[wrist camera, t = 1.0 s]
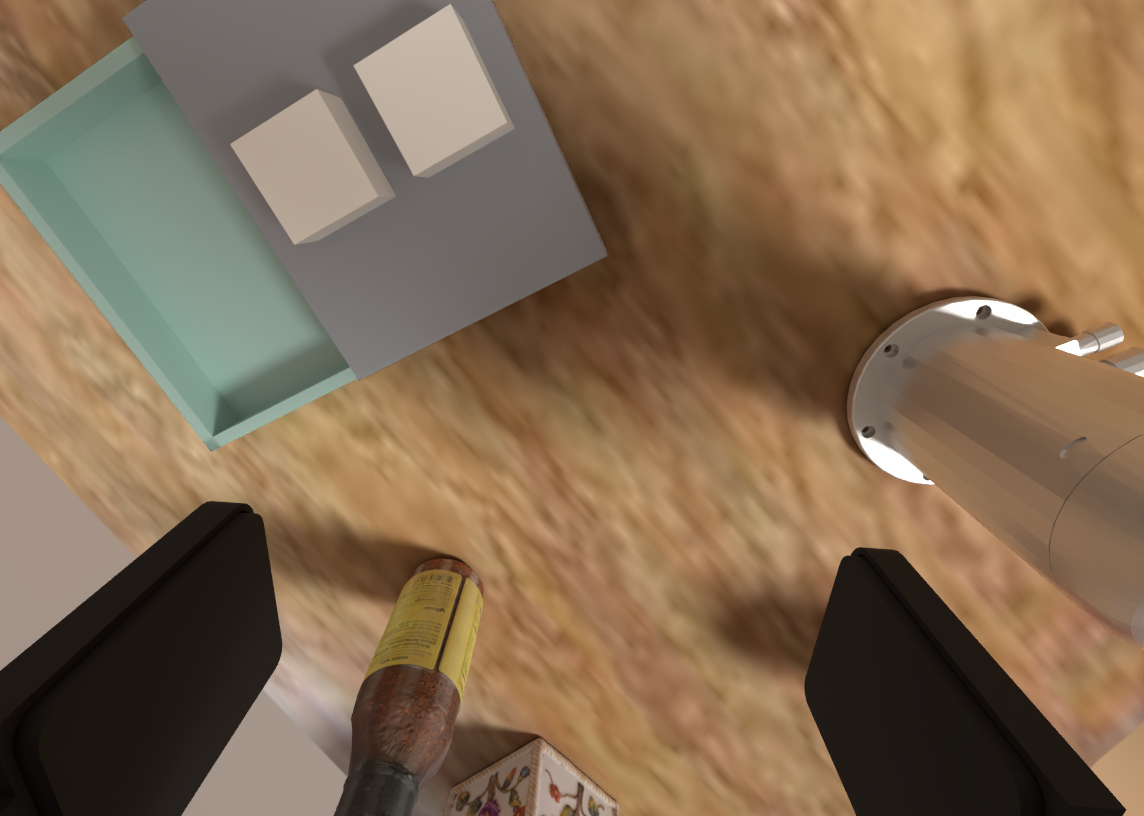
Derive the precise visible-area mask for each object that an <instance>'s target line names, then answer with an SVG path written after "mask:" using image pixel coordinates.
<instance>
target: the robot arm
mask: <svg viewBox="0 0 1144 816" xmlns="http://www.w3.org/2000/svg"><path fill="white" fill-rule="evenodd" d="M1123 338H1124V335H1123V332H1122V330H1121V329H1120V328H1119V327H1118V326H1117V325H1116V324H1114V323H1112V322H1106V323H1104V324H1101V325H1099V326H1096V327H1094V328H1091V329H1089V330H1086V331H1083V332H1082V333H1081V334H1079V335H1077V336H1074V337H1071V338H1069V337H1066V336H1059V335H1056V334H1053V333H1050V332H1049V331H1048V330H1047V328H1046V327H1045V325H1044V324H1043V323H1042V322H1041V321H1040V320H1039V319H1037V318H1036V317H1035V316H1034V315H1032V314H1031V313H1030V312H1029V311H1027V310H1025V309H1023V308H1021V307H1018V306H1016V305H1014V304H1012V303H1009V302H1005V301H1001V300H998V299H994V298H987V297H978V296H966V297H953V298H949V299H945V300H941V301H937V302H933V303H930V304H928V305H926V306H923V307H921V308H919V309H916V310H914V311H912V312H910V313H909V314H907V315H906V316H904V317H902V318H901V319H899V320H898V321H896V322H894V323H893V324H892V325H891V326H890V327H889V328H888V329H886V330H885V331H884V332H883V333H882V334H881V335H880V336H878V338H877V339H876V340H875V341H874V342H873V344H872V345H871V346H870V347H869V348H868V350H867V351H866V352H865V354H864V356H863V357H862V359H861V361H860V362H859V364H858V366H857V368H856V369H855V372H854V375H853V378H852V380H851V383H850V386H849V392H848V398H847V419H848V423H849V427H850V430H851V434H852V436H853V438H854V440H855V442H856V443H857V445H858V447H859V449H860V450H861V451H862V452H863V453H864V454H865V455H866V456H867V457H868V458H869V460H871V461H872V462H873V463H874V464H875V465H876V466H877V467H879V468H880V469H881V470H882V471H884V472H886V473H888V474H890V475H892V476H893V477H895V478H898V479H901V480H905V481H908V482H911V483H917V484H924V485H936V486H938V487H939V488H940V489H941V490H942V491H943V492H945V493H946V494H947V495H948V496H949V497H950V498H952V499H953V500H954V501H955V502H956V503H957V504H959V505H960V506H961V507H962V508H963V509H964V510H966V511H967V512H968V513H969V514H970V515H971V516H973V517H974V518H975V519H976V520H977V521H978V522H980V523H981V524H982V525H983V526H984V527H985V528H987V529H988V530H989V531H990V532H991V533H992V534H994V535H995V536H996V537H997V538H998V539H999V540H1001V541H1002V542H1003V543H1004V544H1005V545H1006V546H1008V547H1009V548H1010V549H1011V550H1012V551H1013V552H1015V553H1016V554H1017V555H1018V556H1019V557H1020V558H1022V559H1023V560H1024V561H1025V562H1026V563H1027V564H1029V565H1030V566H1031V567H1032V568H1033V569H1034V570H1036V571H1037V572H1038V573H1039V574H1040V575H1042V576H1043V577H1044V578H1045V579H1046V580H1047V581H1049V582H1050V583H1051V584H1052V585H1053V586H1054V587H1056V588H1057V589H1058V590H1059V591H1060V592H1061V593H1063V594H1064V595H1065V596H1066V597H1067V598H1068V599H1070V600H1071V601H1072V602H1074V603H1075V604H1076V605H1077V606H1078V607H1080V608H1081V609H1082V610H1083V611H1084V612H1085V613H1087V614H1088V615H1089V616H1090V617H1091V618H1093V619H1094V620H1095V621H1096V622H1098V623H1099V624H1100V625H1102V626H1103V627H1104V628H1106V629H1107V630H1108V631H1110V632H1111V633H1113V634H1114V635H1116V636H1118V637H1119V638H1121V639H1123V640H1124V641H1126V642H1128V643H1129V644H1131V645H1133V646H1135V647H1137V648H1139V649H1141V650H1144V350H1143V349H1141V348H1130V349H1128V350H1125V351H1122V352H1120V353H1117V354H1115V355H1112V356H1109V357H1107V358H1104V359H1102V360H1100V361H1098V362H1097V361H1094V360H1091V359H1088V358H1085V357H1083V356H1086V355H1088V354H1091V353H1097V352H1099V351H1102V350H1105V349H1107V348H1110V347H1112V346H1115V345H1117V344H1120V343H1121V342H1122V341H1123ZM887 346H888V348H887V349H886V350H885V348H886V347H887ZM863 428H864V429H863ZM281 653H282V638H281V631H280V625H279V619H278V612H277V606H276V599H275V593H274V587H273V580H272V574H271V567H270V561H269V554H268V548H267V542H266V535H265V529H264V523H263V519H262V517H261V516H260V515H259V514H254V512H253V509H252V508H251V507H250V505H248V504H244V503H230V502H216V501H210V502H206V503H204V504H202V505H201V506H200V507H198V508H197V509H196V510H195V511H194V512H192V513H191V514H190V515H189V516H188V517H186V518H185V519H184V520H183V521H181V522H180V523H179V524H178V525H177V526H175V527H174V528H173V529H172V530H171V531H169V532H168V533H167V534H166V535H165V536H163V537H162V538H161V539H160V540H158V541H157V542H156V543H155V544H154V545H152V546H151V547H150V548H149V549H148V550H146V551H145V552H144V553H143V554H141V555H140V556H139V557H138V558H137V559H135V560H134V561H133V562H132V563H131V564H129V565H128V566H127V567H126V568H124V569H123V570H122V571H121V572H120V573H118V574H117V575H116V576H115V577H114V578H112V579H111V580H110V581H109V582H108V583H106V584H105V585H104V586H103V587H101V588H100V589H99V590H98V591H97V592H95V593H94V594H93V595H92V596H91V597H89V598H88V599H87V600H86V601H85V602H83V603H82V604H81V605H80V606H78V607H77V608H76V609H75V610H74V611H72V612H71V613H70V614H69V615H67V616H66V617H65V618H64V619H63V620H61V621H60V622H59V623H58V624H57V625H55V626H54V627H53V628H52V629H51V630H49V631H48V632H47V633H46V634H44V635H43V636H42V637H41V638H40V639H39V640H37V641H36V642H35V643H34V644H32V645H31V646H30V647H29V648H27V649H26V650H25V651H24V652H23V653H21V654H20V655H19V656H18V657H17V658H15V659H14V660H13V661H12V662H10V663H9V664H8V665H7V666H6V667H4V668H3V669H2V670H1V671H0V816H181V815H182V813H183V812H184V810H185V808H186V807H187V806H188V804H189V802H190V801H191V799H192V798H193V796H194V795H195V793H196V792H197V790H198V788H199V787H200V785H201V784H202V782H203V781H204V779H205V777H206V776H207V774H208V773H209V771H210V770H211V768H212V766H213V765H214V763H215V762H216V760H217V759H218V757H219V756H220V754H221V753H222V751H223V750H224V748H225V746H226V745H227V743H228V742H229V740H230V738H231V737H232V736H233V734H234V732H235V731H236V729H237V728H238V726H239V725H240V723H241V721H242V720H243V718H244V717H245V715H246V714H247V712H248V710H249V709H250V708H251V706H252V704H253V703H254V701H255V700H256V698H257V697H258V695H259V693H260V692H261V690H262V689H263V687H264V686H265V684H266V683H267V681H268V680H269V678H270V676H271V675H272V673H273V672H274V670H275V669H276V667H277V665H278V662H279V660H280V657H281ZM805 696H806V701H807V704H808V706H809V709H810V711H811V713H812V715H813V718H814V720H815V722H816V724H817V727H818V729H819V731H820V734H821V736H822V738H823V740H824V743H825V745H826V747H827V750H828V752H829V754H830V756H831V759H832V761H833V763H834V765H835V768H836V770H837V772H838V775H839V777H840V779H841V781H842V784H843V786H844V788H845V791H846V793H847V795H848V797H849V800H850V802H851V804H852V807H853V809H854V811H855V813H856V816H1123V814H1124V813H1125V811H1126V809H1125V808H1124V807H1123V806H1122V804H1121V803H1120V802H1119V801H1118V800H1117V799H1116V797H1115V796H1114V795H1113V794H1112V793H1111V792H1110V791H1109V789H1108V788H1107V787H1106V786H1105V785H1104V784H1103V783H1102V782H1101V781H1100V779H1099V778H1098V777H1097V776H1096V775H1095V774H1094V773H1093V771H1092V770H1091V769H1090V768H1089V767H1088V766H1087V764H1086V763H1085V762H1084V761H1083V760H1082V759H1081V758H1080V756H1079V755H1078V754H1077V753H1076V752H1075V751H1074V750H1073V749H1072V747H1071V746H1070V745H1069V744H1068V743H1067V742H1066V741H1065V739H1064V738H1063V737H1062V736H1061V735H1060V734H1059V733H1058V731H1057V730H1056V729H1055V728H1054V727H1053V726H1052V725H1051V723H1050V722H1049V721H1048V720H1047V719H1046V718H1045V717H1044V716H1043V714H1042V713H1041V712H1040V711H1039V710H1038V709H1037V708H1036V706H1035V705H1034V704H1033V703H1032V702H1031V701H1030V700H1029V698H1028V697H1027V696H1026V695H1025V694H1024V693H1023V692H1022V690H1021V689H1020V688H1019V687H1018V686H1017V685H1016V684H1015V683H1014V681H1013V680H1012V679H1011V678H1010V677H1009V676H1008V675H1007V673H1006V672H1005V671H1004V670H1003V669H1002V668H1001V667H1000V665H999V664H998V663H997V662H996V661H995V660H994V659H993V657H992V656H991V655H990V654H989V653H988V652H987V651H986V650H985V648H984V647H983V646H982V645H981V644H980V643H979V642H978V640H977V639H976V638H975V637H974V636H973V635H972V634H971V632H970V631H969V630H968V629H967V628H966V627H965V626H964V625H963V623H962V622H961V621H960V620H959V619H958V618H957V617H956V615H955V614H954V613H953V612H952V611H951V610H950V609H949V607H948V606H947V605H946V604H945V603H944V602H943V601H942V599H941V598H940V597H939V596H938V595H937V594H936V593H935V592H934V590H933V589H932V588H931V587H930V586H929V585H928V584H927V582H926V581H925V580H924V579H923V578H922V577H921V576H920V574H919V573H918V572H917V571H916V570H915V569H914V568H913V566H912V565H911V564H910V563H909V562H908V561H907V560H906V559H905V557H904V556H903V555H902V554H901V553H899V552H898V551H896V550H890V549H876V548H862V547H860V548H856V549H855V550H854V551H853V552H852V554H851V556H845V557H844V558H843V559H842V560H841V563H840V565H839V569H838V572H837V575H836V579H835V582H834V585H833V588H832V592H831V595H830V598H829V602H828V605H827V608H826V612H825V615H824V618H823V622H822V625H821V628H820V631H819V635H818V638H817V641H816V645H815V648H814V651H813V655H812V658H811V661H810V665H809V668H808V671H807V674H806V678H805Z"/></svg>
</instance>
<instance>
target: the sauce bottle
mask: <svg viewBox="0 0 1144 816" xmlns="http://www.w3.org/2000/svg"><path fill="white" fill-rule="evenodd" d="M482 599H483V584H482V582H481V581H480V579H479V577H478V576H477V575H476V573H474V571H473V570H472V569H470V568H469V567H468V566H467V565H466V564H464V563H462V562H460V561H457V560H452V559H445V558H438V559H432V560H429V561H426V562H424V563H423V564H421V565H420V566H418V567H417V568H416V569H415V570H414V571H413V572H412V573H411V574H410V576H409V579H408V581H407V583H406V584H405V585H404V587H403V589H402V591H401V593H400V596H399V598H398V600H397V603H396V605H395V607H394V610H393V612H392V615H391V617H390V619H389V622H388V624H387V627H386V629H385V631H384V634H383V636H382V638H381V641H380V643H379V645H378V648H377V650H376V652H375V655H374V657H373V659H372V662H371V664H370V666H369V668H368V671H367V673H366V676H365V678H364V680H363V683H362V685H361V687H360V690H359V693H358V695H357V699H356V703H355V706H354V710H353V713H352V717H351V722H352V752H351V759H350V766H349V774H348V777H347V779H346V781H345V784H344V790H343V794H342V796H341V799H340V801H339V804H338V806H337V809H336V812H335V814H334V816H411V815H412V811H413V808H414V806H415V804H416V802H417V799H418V792H419V790H420V789H421V788H422V787H423V786H424V785H425V784H426V783H427V782H428V781H430V780H431V779H432V778H433V776H434V775H435V774H437V772H438V771H439V769H440V767H441V766H442V764H443V762H444V759H445V757H446V754H447V752H448V750H449V747H450V745H451V741H452V736H453V730H454V727H455V722H456V717H457V715H458V713H459V710H460V707H461V703H462V698H463V693H464V689H465V684H466V680H467V675H468V671H469V667H470V662H471V658H472V653H473V649H474V644H475V640H476V636H477V631H478V627H479V622H480V618H481V614H482V609H483V601H482Z"/></svg>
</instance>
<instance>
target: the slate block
mask: <svg viewBox="0 0 1144 816" xmlns="http://www.w3.org/2000/svg"><path fill="white" fill-rule="evenodd" d="M449 4H451V5H452V6H453V8H454V9H455V10H456V12H457V13H458V14H459V16H460V17H461V18H462V19H463V21H464V23H465V25H466V27H467V29H468V31H469V33H470V35H471V37H472V39H473V42H474V44H475V46H476V48H477V50H478V52H479V54H480V56H481V58H482V60H483V62H484V65H485V67H486V69H487V71H488V73H489V75H490V77H491V79H492V81H493V83H494V86H495V88H496V90H497V92H498V94H499V96H500V98H501V100H502V102H503V104H504V107H505V109H506V111H507V113H508V115H509V117H510V119H511V121H512V123H513V125H514V128H515V129H513V130H512V131H510V132H508V133H506V134H505V135H503V136H501V137H499V138H498V139H496V140H494V141H492V142H491V143H489V144H487V145H485V146H484V147H482V148H480V149H478V150H477V151H475V152H473V153H471V154H470V155H468V156H466V157H464V158H463V159H461V160H459V161H457V162H456V163H454V164H452V165H450V166H449V167H447V168H445V169H443V170H442V171H440V172H438V173H436V174H435V175H433V176H431V177H429V178H428V177H418V176H414V175H413V174H412V172H411V170H410V168H409V166H408V164H407V163H406V161H405V159H404V157H403V155H402V153H401V152H400V150H399V148H398V146H397V144H396V142H395V141H394V139H393V137H392V135H391V133H390V131H389V130H388V128H387V126H386V124H385V122H384V121H383V119H382V117H381V115H380V113H379V111H378V110H377V108H376V106H375V104H374V102H373V100H372V99H371V97H370V95H369V93H368V91H367V89H366V88H365V86H364V84H363V82H362V80H361V78H360V77H359V75H358V73H357V71H356V69H355V67H354V66H353V65H355V64H357V63H358V62H360V61H361V60H363V59H364V58H366V57H368V56H369V55H371V54H372V53H374V52H375V51H377V50H379V49H380V48H382V47H383V46H385V45H386V44H388V43H390V42H391V41H393V40H394V39H396V38H397V37H399V36H401V35H402V34H404V33H405V32H407V31H408V30H410V29H412V28H413V27H415V26H416V25H418V24H419V23H421V22H423V21H424V20H426V19H427V18H429V17H430V16H432V15H434V14H435V13H437V12H438V11H440V10H441V9H443V8H445V7H446V6H448V5H449ZM122 20H123V21H124V23H125V24H126V26H127V27H128V29H129V30H130V32H131V33H132V35H133V37H134V38H135V40H136V41H137V43H138V44H139V46H140V47H141V49H142V50H143V52H144V53H145V55H146V56H147V58H148V59H149V61H150V63H151V64H152V66H153V67H154V69H155V70H156V72H157V73H158V75H159V76H160V78H161V79H162V81H163V82H164V84H165V85H166V87H167V88H168V90H169V92H170V93H171V95H172V96H173V98H174V99H175V101H176V102H177V104H178V105H179V107H180V108H181V110H182V111H183V113H184V114H185V116H186V117H187V119H188V121H189V122H190V124H191V125H192V127H193V128H194V130H195V131H196V133H197V134H198V136H199V137H200V139H201V140H202V142H203V143H204V145H205V147H206V148H207V150H208V151H209V153H210V154H211V156H212V157H213V159H214V160H215V162H216V163H217V165H218V166H219V168H220V169H221V171H222V172H223V174H224V176H225V177H226V179H227V180H228V182H229V183H230V185H231V186H232V188H233V189H234V191H235V192H236V194H237V195H238V197H239V198H240V200H241V201H242V203H243V205H244V206H245V208H246V209H247V211H248V212H249V214H250V215H251V217H252V218H253V220H254V221H255V223H256V224H257V226H258V227H259V229H260V231H261V232H262V234H263V235H264V237H265V238H266V240H267V241H268V243H269V244H270V246H271V247H272V249H273V250H274V252H275V253H276V255H277V256H278V258H279V260H280V261H281V263H282V264H283V266H284V267H285V269H286V270H287V272H288V273H289V275H290V276H291V278H292V279H293V281H294V282H295V284H296V286H297V287H298V289H299V290H300V292H301V293H302V295H303V296H304V298H305V299H306V301H307V302H308V304H309V305H310V307H311V308H312V310H313V311H314V313H315V315H316V316H317V318H318V319H319V321H320V322H321V324H322V325H323V327H324V328H325V330H326V331H327V333H328V334H329V336H330V337H331V339H332V340H333V342H334V344H335V345H336V347H337V348H338V350H339V351H340V353H341V354H342V356H343V357H344V359H345V360H346V362H347V363H348V365H349V366H350V368H351V370H352V371H353V373H354V374H355V376H356V377H357V379H358V380H361V379H363V378H365V377H367V376H369V375H371V374H373V373H375V372H377V371H379V370H381V369H383V368H385V367H387V366H389V365H391V364H393V363H395V362H397V361H399V360H401V359H403V358H405V357H407V356H409V355H411V354H413V353H415V352H417V351H419V350H421V349H423V348H425V347H427V346H429V345H431V344H433V343H435V342H437V341H439V340H441V339H443V338H445V337H447V336H449V335H451V334H453V333H455V332H457V331H459V330H461V329H463V328H465V327H467V326H469V325H471V324H473V323H475V322H477V321H479V320H481V319H483V318H485V317H487V316H489V315H491V314H493V313H495V312H497V311H499V310H501V309H503V308H505V307H507V306H509V305H511V304H513V303H515V302H517V301H519V300H521V299H523V298H525V297H527V296H529V295H531V294H533V293H535V292H537V291H539V290H541V289H543V288H545V287H547V286H549V285H551V284H553V283H555V282H557V281H559V280H561V279H563V278H565V277H567V276H569V275H571V274H573V273H575V272H577V271H579V270H581V269H583V268H585V267H587V266H589V265H591V264H593V263H595V262H597V261H599V260H601V259H603V258H605V257H607V251H606V247H605V245H604V242H603V240H602V238H601V236H600V234H599V231H598V229H597V227H596V225H595V223H594V221H593V218H592V216H591V214H590V212H589V210H588V207H587V205H586V203H585V201H584V199H583V196H582V194H581V192H580V190H579V188H578V185H577V183H576V181H575V179H574V177H573V174H572V172H571V170H570V168H569V166H568V163H567V161H566V159H565V157H564V155H563V153H562V150H561V148H560V146H559V144H558V142H557V139H556V137H555V135H554V133H553V131H552V128H551V126H550V124H549V122H548V120H547V117H546V115H545V113H544V111H543V109H542V106H541V104H540V102H539V100H538V98H537V96H536V93H535V91H534V89H533V87H532V85H531V82H530V80H529V78H528V76H527V74H526V71H525V69H524V67H523V65H522V63H521V60H520V58H519V56H518V54H517V52H516V49H515V47H514V45H513V43H512V41H511V38H510V36H509V34H508V32H507V30H506V28H505V25H504V23H503V21H502V19H501V17H500V14H499V12H498V10H497V8H496V6H495V3H494V1H493V0H146V1H144V2H143V3H142V4H140V5H139V6H137V7H136V8H135V9H133V10H132V11H131V12H129V13H128V14H126V15H125V16H124V17H122ZM316 89H318V90H321V91H324V92H326V93H329V94H332V95H334V96H337V97H339V98H341V99H342V101H343V103H344V104H345V106H346V108H347V110H348V111H349V113H350V115H351V117H352V119H353V120H354V122H355V124H356V126H357V127H358V129H359V131H360V133H361V135H362V136H363V138H364V140H365V142H366V143H367V145H368V147H369V149H370V151H371V152H372V154H373V156H374V158H375V159H376V161H377V163H378V165H379V166H380V168H381V170H382V172H383V174H384V175H385V177H386V179H387V181H388V182H389V184H390V186H391V188H392V190H393V191H394V193H395V195H396V197H394V198H392V199H391V200H389V201H387V202H385V203H384V204H382V205H380V206H378V207H377V208H375V209H373V210H371V211H370V212H368V213H366V214H364V215H363V216H361V217H359V218H357V219H356V220H354V221H352V222H350V223H349V224H347V225H345V226H343V227H342V228H340V229H338V230H336V231H335V232H333V233H331V234H329V235H328V236H326V237H324V238H322V239H321V240H319V241H314V242H308V243H302V244H296V245H294V243H293V242H292V240H291V239H290V237H289V236H288V234H287V233H286V231H285V229H284V228H283V226H282V225H281V223H280V222H279V220H278V218H277V217H276V215H275V214H274V212H273V211H272V209H271V208H270V206H269V204H268V203H267V201H266V200H265V198H264V197H263V195H262V193H261V192H260V190H259V189H258V187H257V186H256V184H255V183H254V181H253V179H252V178H251V176H250V175H249V173H248V172H247V170H246V168H245V167H244V165H243V164H242V162H241V161H240V159H239V158H238V156H237V154H236V153H235V151H234V150H233V148H232V147H231V145H230V144H231V143H233V142H234V141H236V140H237V139H239V138H240V137H242V136H244V135H245V134H247V133H248V132H250V131H251V130H253V129H255V128H256V127H258V126H259V125H261V124H262V123H264V122H266V121H267V120H269V119H270V118H272V117H273V116H275V115H277V114H278V113H280V112H281V111H283V110H284V109H286V108H288V107H289V106H291V105H292V104H294V103H295V102H297V101H299V100H300V99H302V98H303V97H305V96H306V95H308V94H310V93H311V92H313V91H314V90H316Z"/></svg>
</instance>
